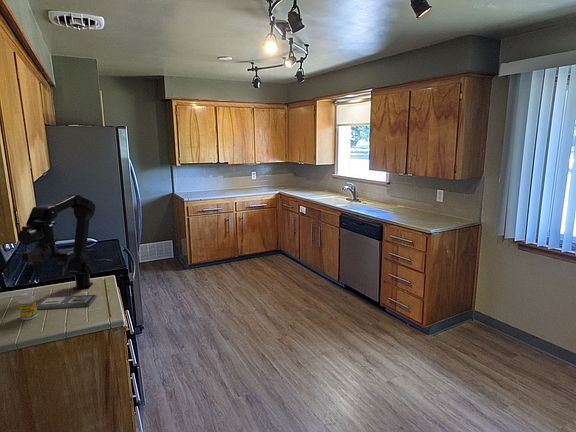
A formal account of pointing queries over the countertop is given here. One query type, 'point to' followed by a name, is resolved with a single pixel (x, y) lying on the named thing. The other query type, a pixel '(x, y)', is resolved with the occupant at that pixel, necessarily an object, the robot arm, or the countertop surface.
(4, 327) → the countertop surface
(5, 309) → the countertop surface
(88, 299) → the panel
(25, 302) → the supplement bottle
